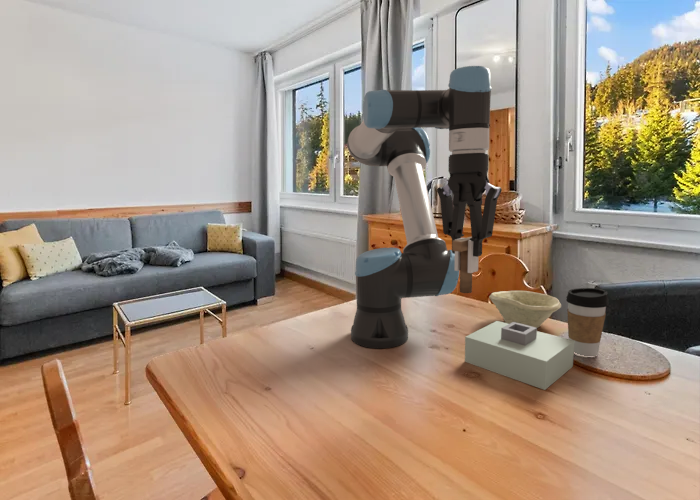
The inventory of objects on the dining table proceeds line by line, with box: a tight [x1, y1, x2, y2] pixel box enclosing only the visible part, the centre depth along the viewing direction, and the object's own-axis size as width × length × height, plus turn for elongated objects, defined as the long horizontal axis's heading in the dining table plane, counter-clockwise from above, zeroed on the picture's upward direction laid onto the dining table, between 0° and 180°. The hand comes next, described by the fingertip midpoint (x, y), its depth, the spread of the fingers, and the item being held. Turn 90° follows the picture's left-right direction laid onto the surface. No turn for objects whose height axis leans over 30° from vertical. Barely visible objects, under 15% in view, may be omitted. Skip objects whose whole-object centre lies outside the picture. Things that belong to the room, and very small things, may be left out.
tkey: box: [451, 236, 473, 294], centre depth 85 cm, size 7×2×11 cm, turn 132°
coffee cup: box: [565, 287, 610, 356], centre depth 96 cm, size 8×8×15 cm
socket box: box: [464, 320, 575, 391], centre depth 92 cm, size 18×14×8 cm
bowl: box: [488, 290, 562, 329], centre depth 115 cm, size 14×18×15 cm
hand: (466, 270), depth 85 cm, fingers closed on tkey, 2 cm apart
